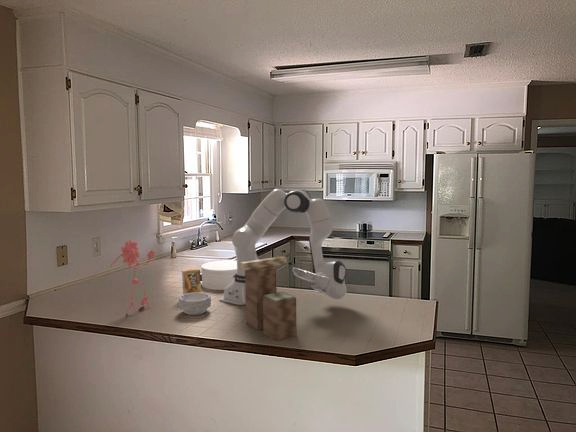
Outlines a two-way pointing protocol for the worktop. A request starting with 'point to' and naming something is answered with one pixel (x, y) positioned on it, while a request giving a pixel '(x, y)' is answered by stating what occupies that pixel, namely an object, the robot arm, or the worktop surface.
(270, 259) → the beech bar
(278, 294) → the low stand
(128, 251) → the pink flowering sprig
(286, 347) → the worktop surface
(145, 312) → the worktop surface
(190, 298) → the paper bowls
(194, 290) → the candy box
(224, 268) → the plate stack
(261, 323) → the tall stand
